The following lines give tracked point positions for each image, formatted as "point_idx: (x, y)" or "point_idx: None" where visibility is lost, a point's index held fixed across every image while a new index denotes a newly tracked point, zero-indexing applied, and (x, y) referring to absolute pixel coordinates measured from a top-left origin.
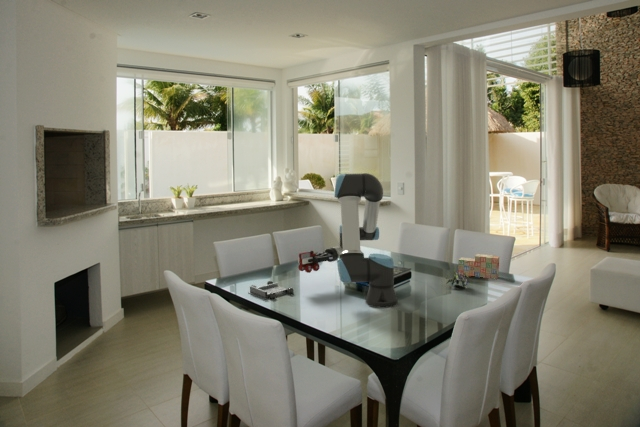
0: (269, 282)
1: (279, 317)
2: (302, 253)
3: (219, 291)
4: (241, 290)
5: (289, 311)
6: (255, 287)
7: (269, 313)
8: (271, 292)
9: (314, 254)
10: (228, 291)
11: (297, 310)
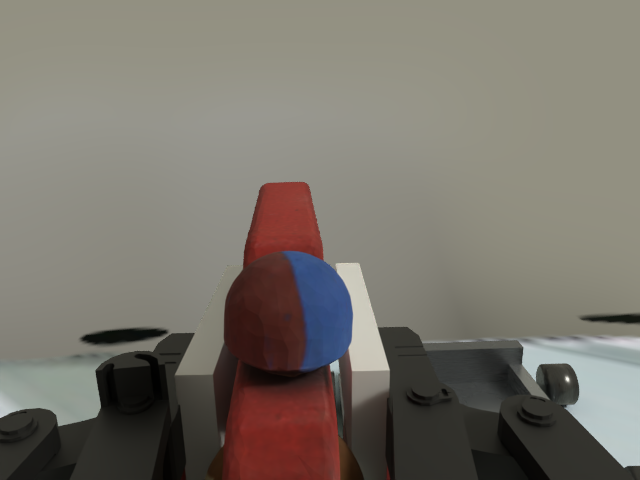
0: (634, 466)
1: (85, 339)
2: (262, 187)
3: (609, 321)
4: (594, 372)
5: (81, 381)
6: (474, 347)
7: (158, 336)
8: (332, 373)
9: (227, 418)
10: (595, 338)
11: (42, 405)
